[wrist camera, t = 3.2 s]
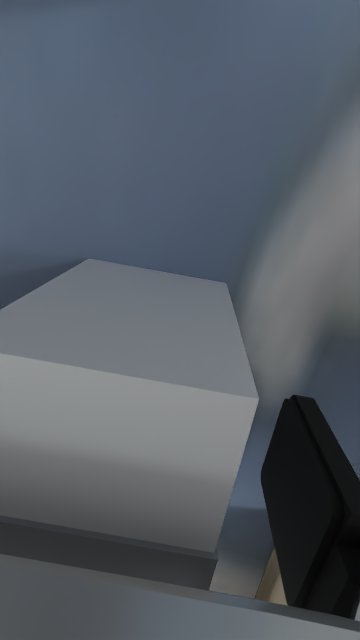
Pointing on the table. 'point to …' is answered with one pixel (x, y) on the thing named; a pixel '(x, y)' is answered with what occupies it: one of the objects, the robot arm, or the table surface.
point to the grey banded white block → (122, 421)
